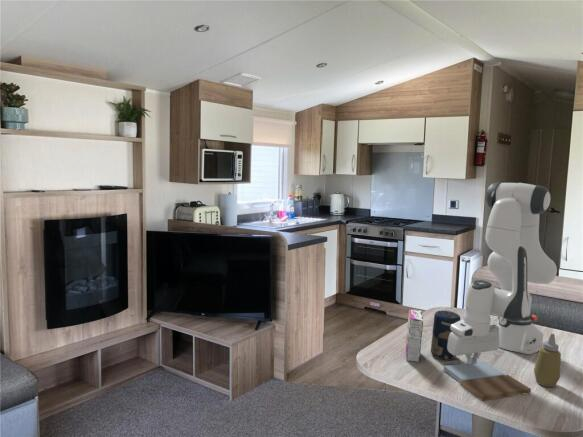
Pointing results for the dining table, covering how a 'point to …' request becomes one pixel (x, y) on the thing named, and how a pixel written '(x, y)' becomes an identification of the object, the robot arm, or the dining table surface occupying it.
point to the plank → (472, 371)
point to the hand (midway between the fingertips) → (471, 363)
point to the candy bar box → (414, 335)
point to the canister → (442, 333)
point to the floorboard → (495, 387)
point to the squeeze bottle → (548, 363)
